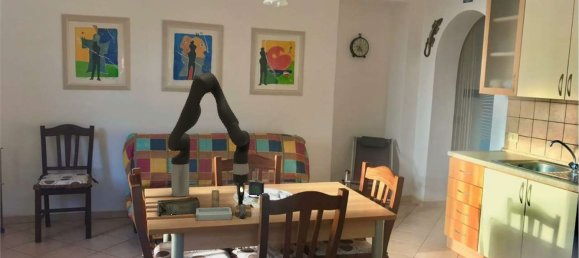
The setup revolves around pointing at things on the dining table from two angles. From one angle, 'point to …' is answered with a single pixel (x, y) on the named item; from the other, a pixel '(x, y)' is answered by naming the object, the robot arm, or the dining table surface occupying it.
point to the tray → (214, 213)
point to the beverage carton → (178, 206)
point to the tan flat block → (248, 211)
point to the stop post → (242, 211)
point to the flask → (255, 187)
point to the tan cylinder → (215, 198)
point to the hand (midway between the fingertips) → (240, 206)
